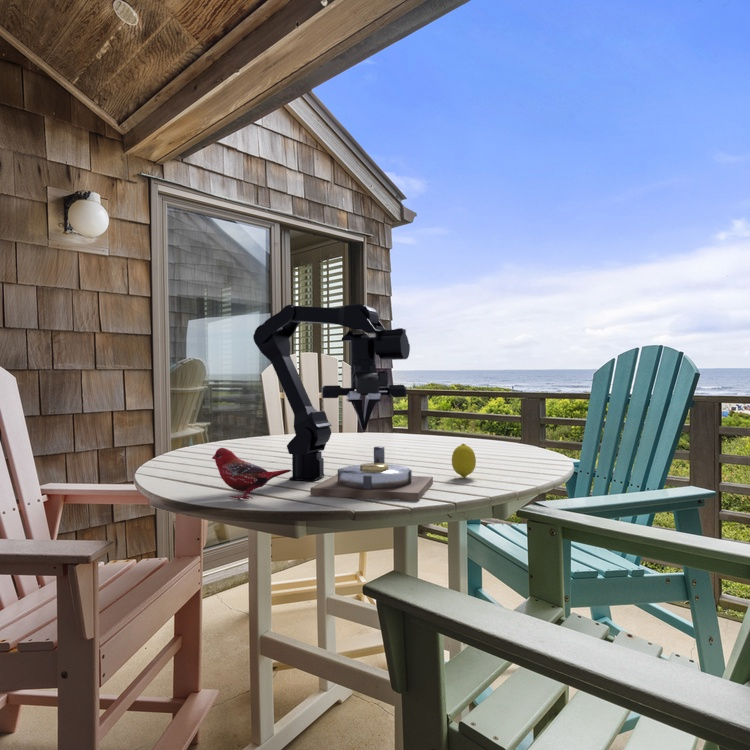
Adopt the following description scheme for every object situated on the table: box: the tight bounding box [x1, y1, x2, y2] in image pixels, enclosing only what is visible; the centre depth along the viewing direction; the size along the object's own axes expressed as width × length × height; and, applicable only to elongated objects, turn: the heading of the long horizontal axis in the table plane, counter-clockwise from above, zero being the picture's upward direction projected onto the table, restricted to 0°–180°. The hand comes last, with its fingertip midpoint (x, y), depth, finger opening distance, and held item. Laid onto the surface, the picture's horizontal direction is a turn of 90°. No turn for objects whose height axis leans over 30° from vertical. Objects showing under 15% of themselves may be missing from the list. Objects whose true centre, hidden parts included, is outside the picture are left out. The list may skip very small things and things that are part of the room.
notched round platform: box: [337, 446, 413, 489], centre depth 107 cm, size 16×16×6 cm
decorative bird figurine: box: [211, 447, 292, 500], centre depth 99 cm, size 3×18×10 cm, turn 72°
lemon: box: [451, 443, 477, 479], centre depth 119 cm, size 6×6×8 cm
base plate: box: [309, 473, 434, 502], centre depth 107 cm, size 22×17×2 cm
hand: (363, 429), depth 115 cm, fingers closed
